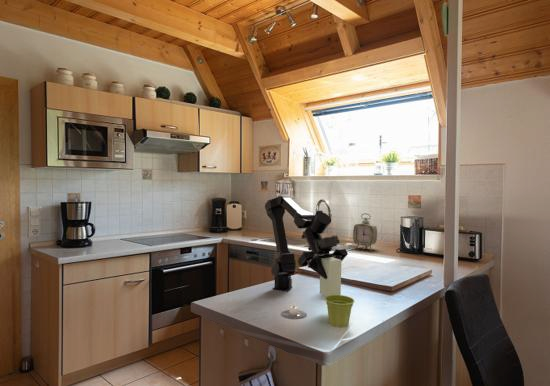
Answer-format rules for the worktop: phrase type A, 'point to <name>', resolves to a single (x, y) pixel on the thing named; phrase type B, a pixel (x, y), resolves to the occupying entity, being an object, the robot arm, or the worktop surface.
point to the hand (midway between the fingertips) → (332, 277)
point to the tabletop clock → (365, 233)
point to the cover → (331, 277)
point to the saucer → (299, 316)
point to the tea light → (293, 311)
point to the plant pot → (339, 309)
